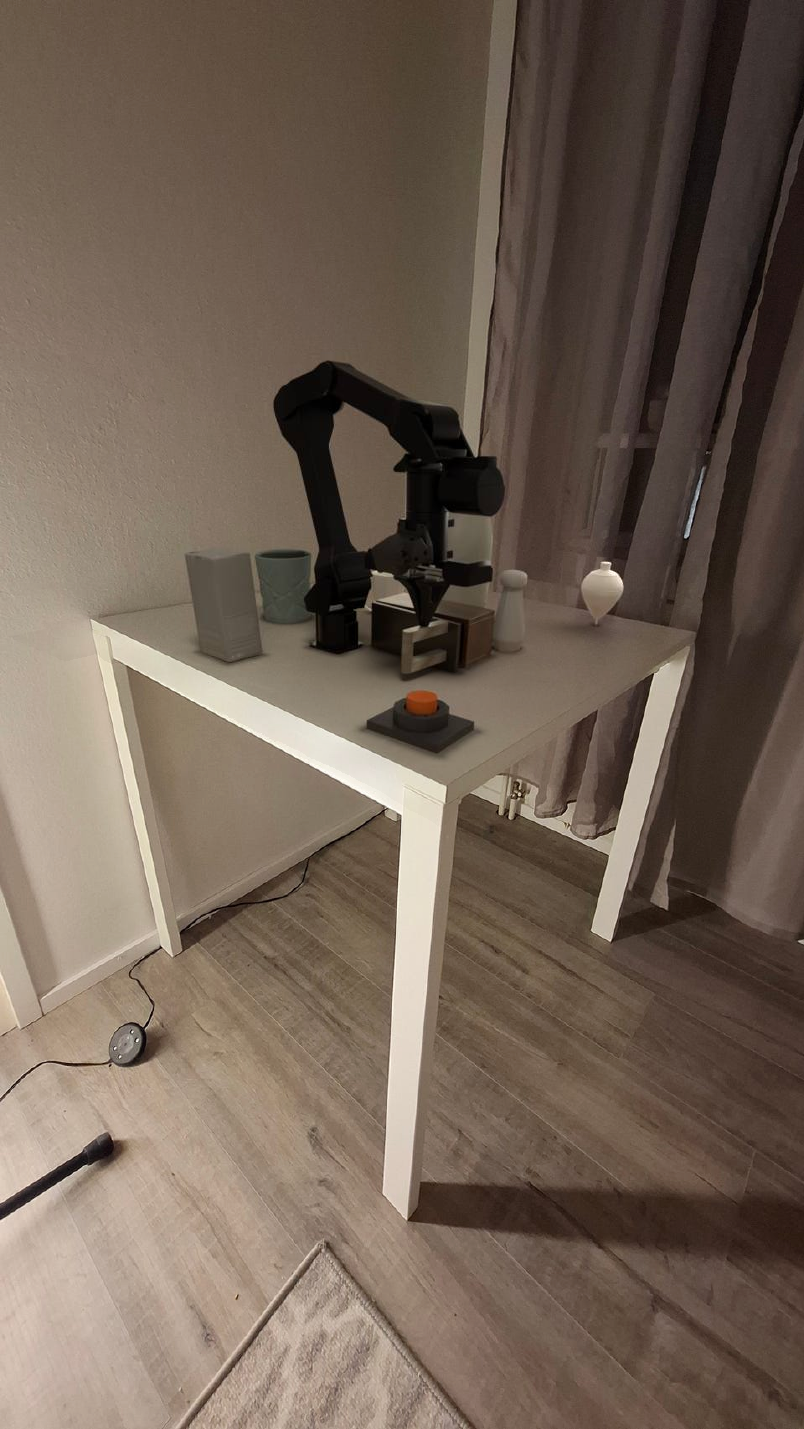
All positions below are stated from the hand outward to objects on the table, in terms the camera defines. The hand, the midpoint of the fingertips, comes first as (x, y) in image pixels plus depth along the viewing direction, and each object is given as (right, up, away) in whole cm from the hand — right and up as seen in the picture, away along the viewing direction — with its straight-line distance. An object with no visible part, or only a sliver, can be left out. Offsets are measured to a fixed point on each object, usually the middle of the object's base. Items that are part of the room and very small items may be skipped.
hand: (424, 626), depth 87 cm
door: (-4, -5, +7) cm, 10 cm away
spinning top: (+35, +5, +33) cm, 48 cm away
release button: (-1, -12, -15) cm, 19 cm away
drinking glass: (-25, +6, +30) cm, 39 cm away
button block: (-1, -14, -14) cm, 20 cm away
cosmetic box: (-30, -3, +9) cm, 32 cm away
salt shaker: (+14, -2, +16) cm, 22 cm away
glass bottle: (+8, +6, +33) cm, 34 cm away
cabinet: (+2, -2, +14) cm, 14 cm away
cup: (-7, +7, +35) cm, 37 cm away
